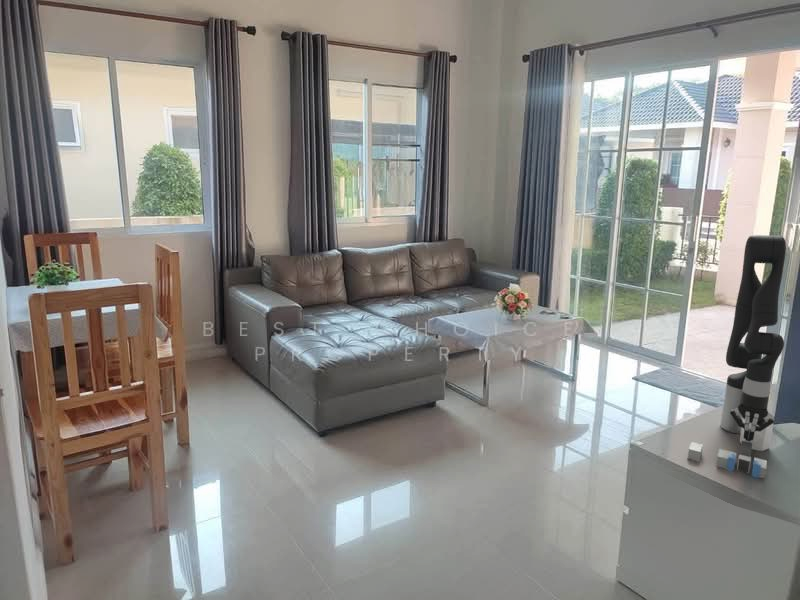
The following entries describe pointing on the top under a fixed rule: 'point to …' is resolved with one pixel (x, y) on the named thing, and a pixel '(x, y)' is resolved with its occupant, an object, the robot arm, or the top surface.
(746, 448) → the tall dark pillar
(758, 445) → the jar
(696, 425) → the top surface
